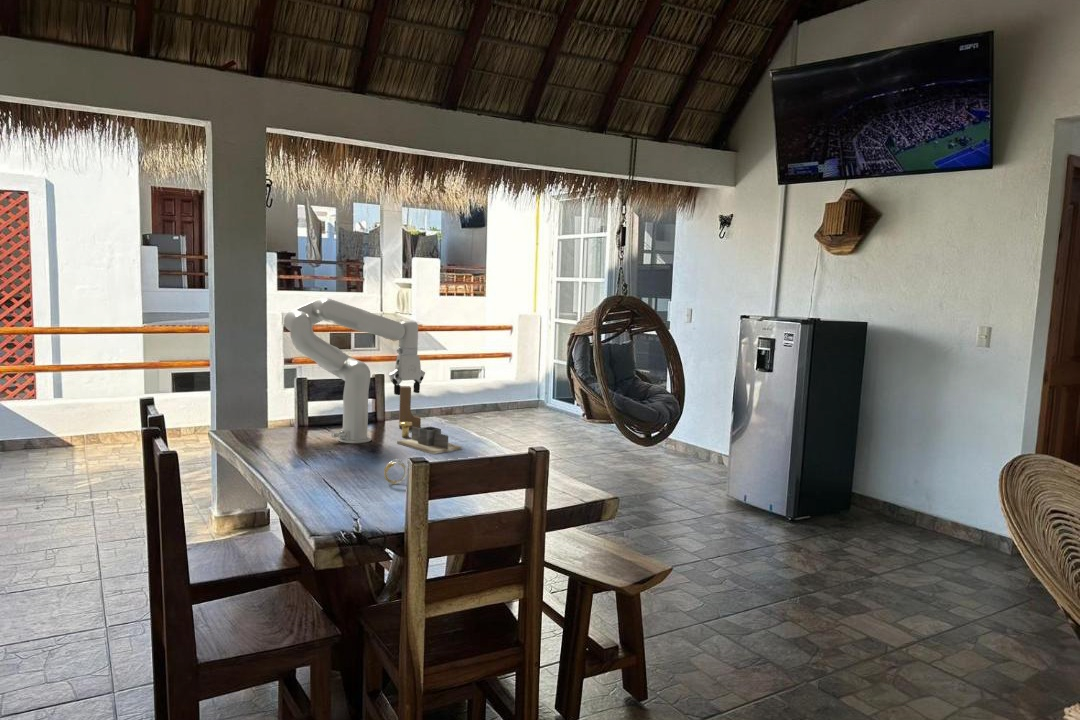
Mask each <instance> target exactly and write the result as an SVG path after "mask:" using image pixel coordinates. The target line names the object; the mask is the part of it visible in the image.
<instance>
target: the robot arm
mask: <svg viewBox="0 0 1080 720" xmlns="http://www.w3.org/2000/svg"><path fill="white" fill-rule="evenodd" d="M323 321H324V322H328V323H332V324H335V325H337V326H341V327H344V328H348V329H351V330H353V331H356V332H363V333H368V334H372V335H375V336H379V337H381V338H383V339H385V340H390V341H394V342H395V341H398V349H396V354H397V353H398V354H397V356H396V361H395V367H394V371H392V372H390V373H389V375H388V377H389V379H390V382H391V383H392V385H393V394H394V395H396V396H400V386H401V382H403V381H414V382H413V393H415V394H420V393H421V392H420V387H421V383H422V381H423V380H424V377H425V374H426V372H425V371H423V370H422V368H421V367H422V366H421V365H422V364H421V358H420V355H419V354H418V349H419V348H418V347H419V346H418V345H419V340H418V339H419V324H418V323H417V322H416V321H412V320H405V321H404V320H403V321H397V320H394V319H391V318H387V317H384V316H380V315H378V314H375V313H372V312H371V311H367V310H365V309H363V308H359V307H356V306H353V305H349V304H346V303H343V302H342V301H341V302H340V301H338V300H334V299H331V298H325V297H321V298H317V299H315V300H313V301H310V302H308V303H306V304H303V305H301V306H299V307H297V308H294V309H292V310H290V311H288V312H287V313H286V315H284V319H283V324H284V327H285V328H286V330H288V331H289V332H290V338H291V342H292V344H293V346H294V347H295V349H296V350H298V352H299V353H301V354H302V355H304V356H305V357H307V358H308V359H310V360H312V361H313V362H315V363H316V365H317V366H319V368H321V369H323V370H325V371H327V372H328V373H330V374H332V375H333V376H335V377H337V378H339V379H341V380H342V381H344V387H343V395H342V402H343V404H342V405H343V406H342V428H341V429H339V431H338V432H331V438H333V439H335V438H338V439H337V440H338V441H339V442H340V443H345V444H365V443H369V442H371V441H372V436H370V435H368V427H369V426H368V425H369V424H368V423H369V421H368V419H369V392H370V391H369V390H370V383H371V374H372V373H371V369H370V368H369V366H368V365H367V364H366V363H365V362H364V361H361V360H358V359H355V358H354V357H352V356H350V355H348V354H346V353H345V352H343V350H341V349H340V348H338V347H337V346H334V345H332V344H331V343H329V342H327V341H326V340H324V339H323V338H321V337H319V336H317V334H316V333H315V332H314V330H313V325H316V324H318V323H320V322H323Z"/></svg>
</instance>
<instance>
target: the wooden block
mask: <svg viewBox="0 0 1080 720" xmlns="http://www.w3.org/2000/svg"><path fill="white" fill-rule="evenodd" d="M411 397H412V387H411V386H409V385H408V386H407V385H400V395H399V408H398V409H399V411H398V413H399V417H398V423H399V422H402V421H408V422H412V426H409V430H412V427H417V428H421V424H422V423H421V422H422V420H421V417H420V416H417V415H414V414H413V413H412V410H411V406H412V405H411V403H412V401H411V400H412V398H411ZM398 428H399V429H401V430H402V426H400V425H399V424H398Z"/></svg>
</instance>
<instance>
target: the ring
mask: <svg viewBox="0 0 1080 720" xmlns="http://www.w3.org/2000/svg"><path fill="white" fill-rule="evenodd" d="M402 461H403V460H402V459H399V458H394V459H391V461H389V462H387V464H386V466H385V468H384V471H383V474H384V478H385V480H386V481H387V482H389V483H390V484H392V485H393V484H394V485H397V484H400V483H402V482H403V481H405V479H406V478H407V475H408V469H407V466H406V464H405V463H403V462H402ZM395 465H400V466H401V467H402V468H403V470H404V473H403V477H402V478H400V479H399V480H396V479H395V480H391V479H390V478H389V477H388V470H389V469H391V468H392V467H393V466H395Z"/></svg>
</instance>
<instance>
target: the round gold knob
mask: <svg viewBox="0 0 1080 720" xmlns="http://www.w3.org/2000/svg"><path fill="white" fill-rule="evenodd" d="M399 425H400V426H402V429H401V437H402V438H405V439H407V438H408V439H409V437H410V429H409V426H412V422H408V421H402V422H399V421H398V426H399Z"/></svg>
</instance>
